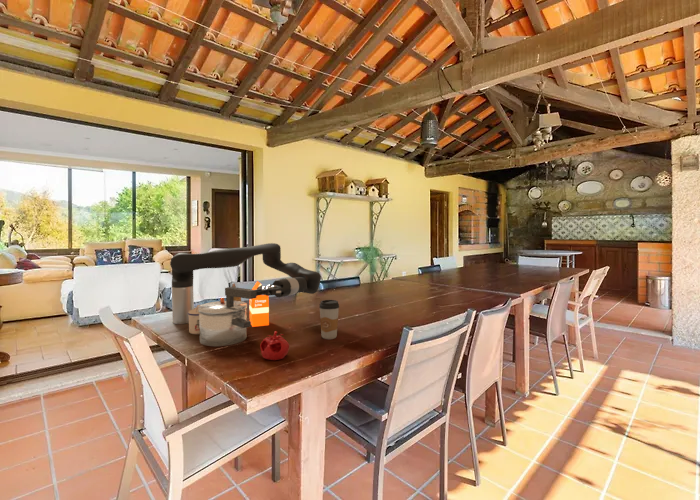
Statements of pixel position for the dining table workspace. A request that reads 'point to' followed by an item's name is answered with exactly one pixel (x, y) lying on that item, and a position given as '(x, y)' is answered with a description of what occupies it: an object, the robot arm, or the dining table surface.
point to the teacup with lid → (194, 321)
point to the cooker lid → (228, 302)
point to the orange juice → (259, 309)
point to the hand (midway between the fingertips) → (252, 293)
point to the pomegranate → (274, 347)
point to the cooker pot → (223, 328)
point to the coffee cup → (329, 318)
